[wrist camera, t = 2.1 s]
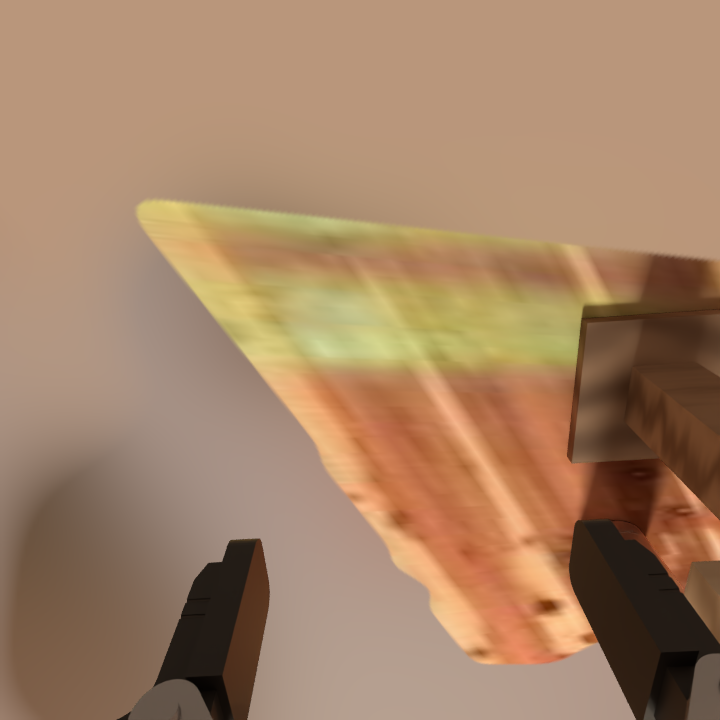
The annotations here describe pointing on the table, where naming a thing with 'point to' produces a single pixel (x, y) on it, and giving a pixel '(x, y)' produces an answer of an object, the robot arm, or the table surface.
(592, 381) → the walnut shelf
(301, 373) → the table surface
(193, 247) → the table surface
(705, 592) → the ash bar
